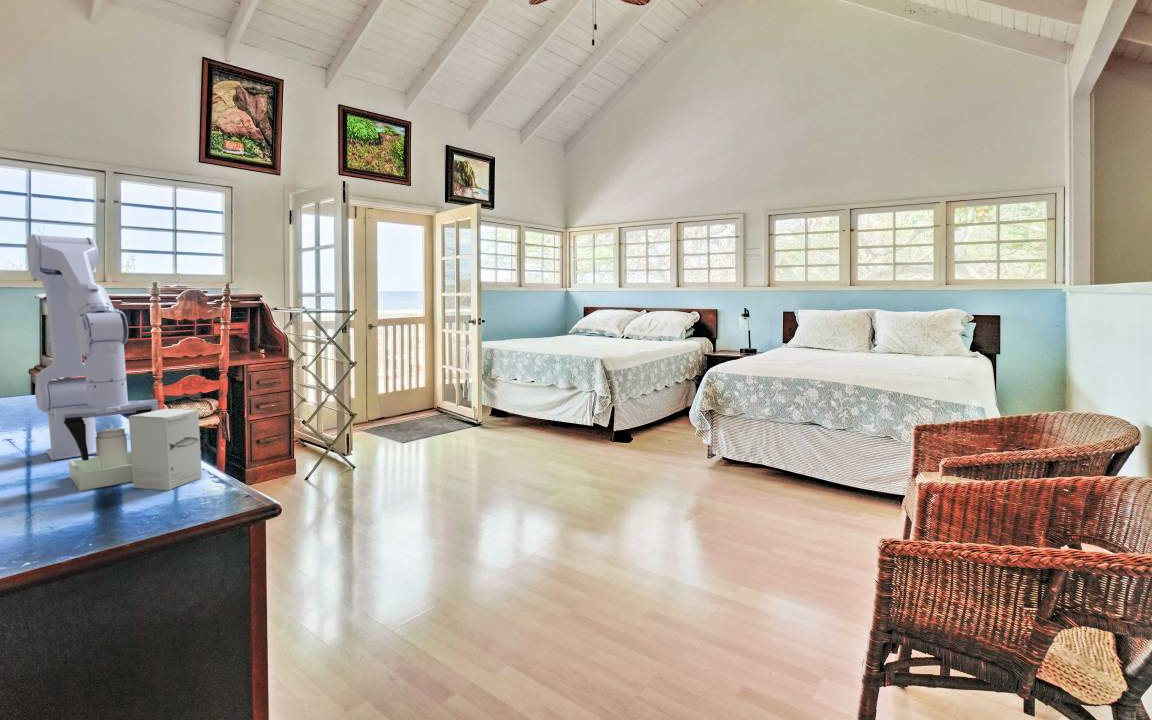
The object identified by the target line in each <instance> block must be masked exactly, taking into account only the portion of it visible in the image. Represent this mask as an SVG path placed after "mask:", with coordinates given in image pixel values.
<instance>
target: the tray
mask: <svg viewBox="0 0 1152 720" xmlns="http://www.w3.org/2000/svg"><path fill="white" fill-rule="evenodd" d="M127 452H128V465H123V466H117V467H110V468H104V469H98V465H97V456H92V457H91V456H90V457H88V458H89V460H85V461H83V460H82V458H79V459H72V460H68V468H69V478H70V479H71V480H72V482H73V483H74V485H75V486H76V488H77V490H79V492H81V491H88V490H93V489H98V488H105V487H110V486H116V485H120V484H121V485H122V484H126V483H133V472H132V457H131V451H127Z"/></svg>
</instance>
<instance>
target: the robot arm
mask: <svg viewBox="0 0 1152 720" xmlns="http://www.w3.org/2000/svg"><path fill="white" fill-rule="evenodd" d="M98 250H99V249H98V246H97V243H96V241H95V240H94V239H93V238H92V237H73V236H72V237H71V236H56V235H55V236H54V235H38V234H31V235H30V236H29V237H28V238H27V243H26V254H27V263H28V271H29V273H30V277H31V278H32V279H33V278H34V279H36V280H38V281H41V282H42V285H43V288H44V290H45V299H46V300H45V302H46V309H47V310H46V311H47V318H48V319H47V320H48V329H49V340H50V349H51V350H50V351H51V359H52V360H51V361H52V362H51V364H49V365H48V366H46V367H45V368H43V369H42V370H40V371H39V372H38V373H37V375H36V377H35V388H34V393H35V394H34V395H35V402H36V406H37V409H38V410H39V411H41V412H42V413H46V414H47V418H48V420H47V421H48V428H49V439H50V448H48V449H45V452H46V454H47V456H48V457H49V459H50V460H51V461H56V460H62V459H63V460H64V459H70V458H77V457H81V458H80V459H82V460H83V461H85V460H89V458H90V457H89V456H90V455H97V452H96V439H95V438H96V437H97V433H96V425H95V424H96V423H95V418H98V417H108V416H118V415H125V414H126V415H127V414H131V415H130V416H132V415H137V414H142V413H147V412H152V411H157V410H159V401H158V400H157V399H143V400H142V399H140V400H129V398H128V395H129V394H128V386H127V385H128V384H127V383H128V381H127V371H126V357H125V356H126V355H125V344H126V343H127V342H128V338H129V324H128V323H129V322H128V320H127V316H126V315H125V313H124V312H123V311H121V310H119V308H115V307H114V306H113V303H112V300H111V299H110V296H109V295H108V293H107V290H106V289H105V288H104V287H103V286H102V285H100V284H97V283H96V281H95V277H94V275H93V272H94V270H95V269H96V267H97V266H98V263H99V251H98ZM82 357H83V358H82ZM83 361H84V362H83ZM76 377H77V378H76ZM62 378H65V379H62ZM66 378H67V379H66Z"/></svg>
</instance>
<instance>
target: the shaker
mask: <svg viewBox="0 0 1152 720" xmlns="http://www.w3.org/2000/svg"><path fill="white" fill-rule="evenodd" d="M95 433H96V438H95V439H96V452H97V454H96V457H97V465H98V469H104V468H110V467H117V466H123V465H128V452H129V451H128V440H127V434H126V432H125V428H120V427H118V428H117V427H116V428H115V427H114V428H106V429H101V430H97V431H95Z"/></svg>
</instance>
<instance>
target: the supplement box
mask: <svg viewBox="0 0 1152 720" xmlns="http://www.w3.org/2000/svg"><path fill="white" fill-rule="evenodd" d="M199 421H200V418H199V410H198V409H189V408H187V409H186V408H184V409H183V408H162V409H158V410H157V411H151V412H147V413H142V414H137V415H129V416H128V425H129V426H128V427H129V438H130V439H129V441H130V442H129V443H130V452H131V457H132V472H133V482H132V483H133V484H132V485H133V488H136V489H146V490H154V489H155V490H156V491H157V490H158V491H170V490H173V489H174V488H177V487H180V486H182V485H185V484H188V483H191V482H194V481H197V480H201V479H202V478H203V477H202V476H203V475H202V456H201V455H202V454H201V442H200V441H201V438H200V436H201V435H200V422H199Z"/></svg>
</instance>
